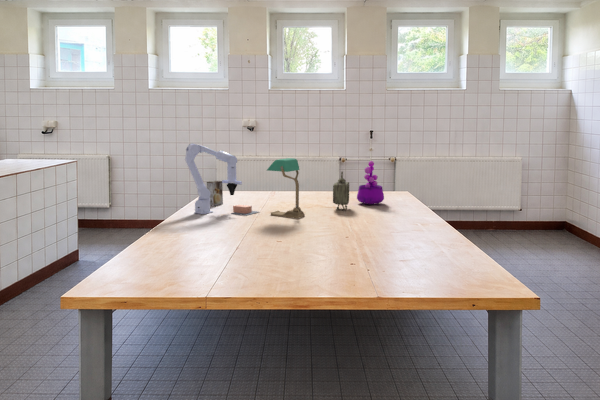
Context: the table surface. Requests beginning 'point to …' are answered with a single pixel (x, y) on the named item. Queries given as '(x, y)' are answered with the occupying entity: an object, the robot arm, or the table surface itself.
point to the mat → (245, 214)
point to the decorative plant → (370, 188)
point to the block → (242, 209)
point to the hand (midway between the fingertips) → (232, 195)
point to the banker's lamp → (288, 166)
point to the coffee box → (215, 192)
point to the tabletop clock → (341, 192)
